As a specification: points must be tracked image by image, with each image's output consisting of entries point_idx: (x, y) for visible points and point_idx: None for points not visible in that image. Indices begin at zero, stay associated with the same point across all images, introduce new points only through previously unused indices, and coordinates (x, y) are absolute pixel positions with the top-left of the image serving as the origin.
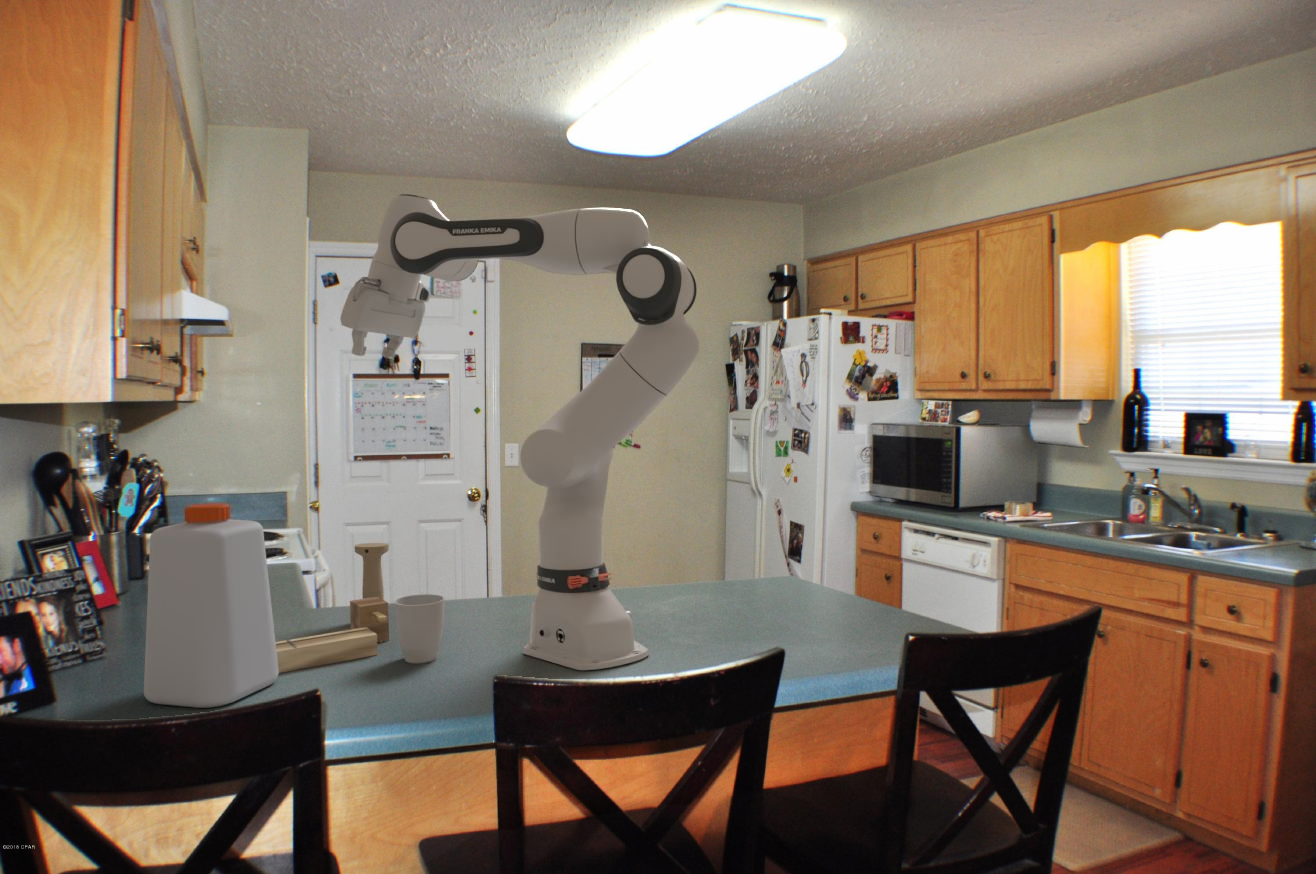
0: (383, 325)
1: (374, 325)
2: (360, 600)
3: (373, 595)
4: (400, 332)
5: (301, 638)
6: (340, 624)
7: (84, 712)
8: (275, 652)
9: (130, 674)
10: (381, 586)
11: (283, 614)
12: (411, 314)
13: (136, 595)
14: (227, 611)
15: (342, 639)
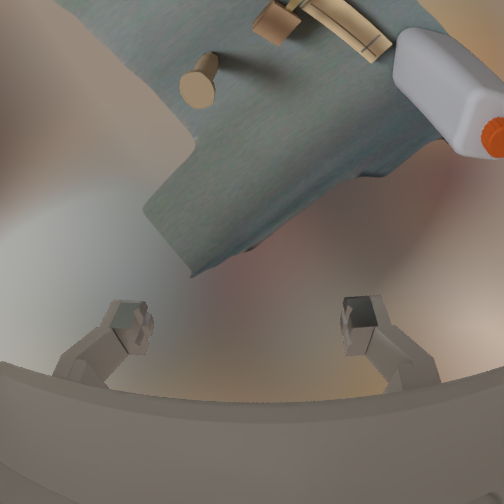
0: (309, 451)
1: (411, 428)
2: (274, 36)
3: (214, 61)
4: (91, 403)
5: (352, 44)
6: (235, 77)
7: None
8: (418, 33)
9: (394, 134)
10: (202, 61)
11: (223, 145)
12: (9, 481)
13: (221, 258)
14: (483, 63)
15: (348, 7)
